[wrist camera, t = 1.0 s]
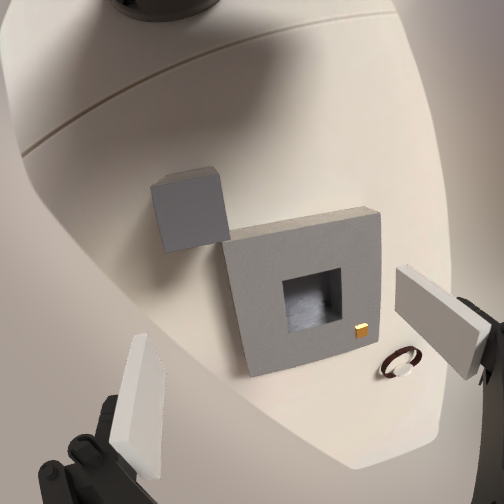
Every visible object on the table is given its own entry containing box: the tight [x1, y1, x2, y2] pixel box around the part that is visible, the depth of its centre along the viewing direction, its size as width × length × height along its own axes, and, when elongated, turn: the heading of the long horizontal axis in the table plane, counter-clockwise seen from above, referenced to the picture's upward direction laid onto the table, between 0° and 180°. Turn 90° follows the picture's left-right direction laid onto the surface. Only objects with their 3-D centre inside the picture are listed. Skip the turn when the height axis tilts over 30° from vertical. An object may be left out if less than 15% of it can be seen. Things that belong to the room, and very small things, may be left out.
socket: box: [222, 206, 381, 378], centre depth 37 cm, size 18×18×4 cm
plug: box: [150, 166, 231, 253], centre depth 28 cm, size 5×5×12 cm
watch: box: [381, 346, 422, 378], centre depth 45 cm, size 8×5×4 cm, turn 108°
